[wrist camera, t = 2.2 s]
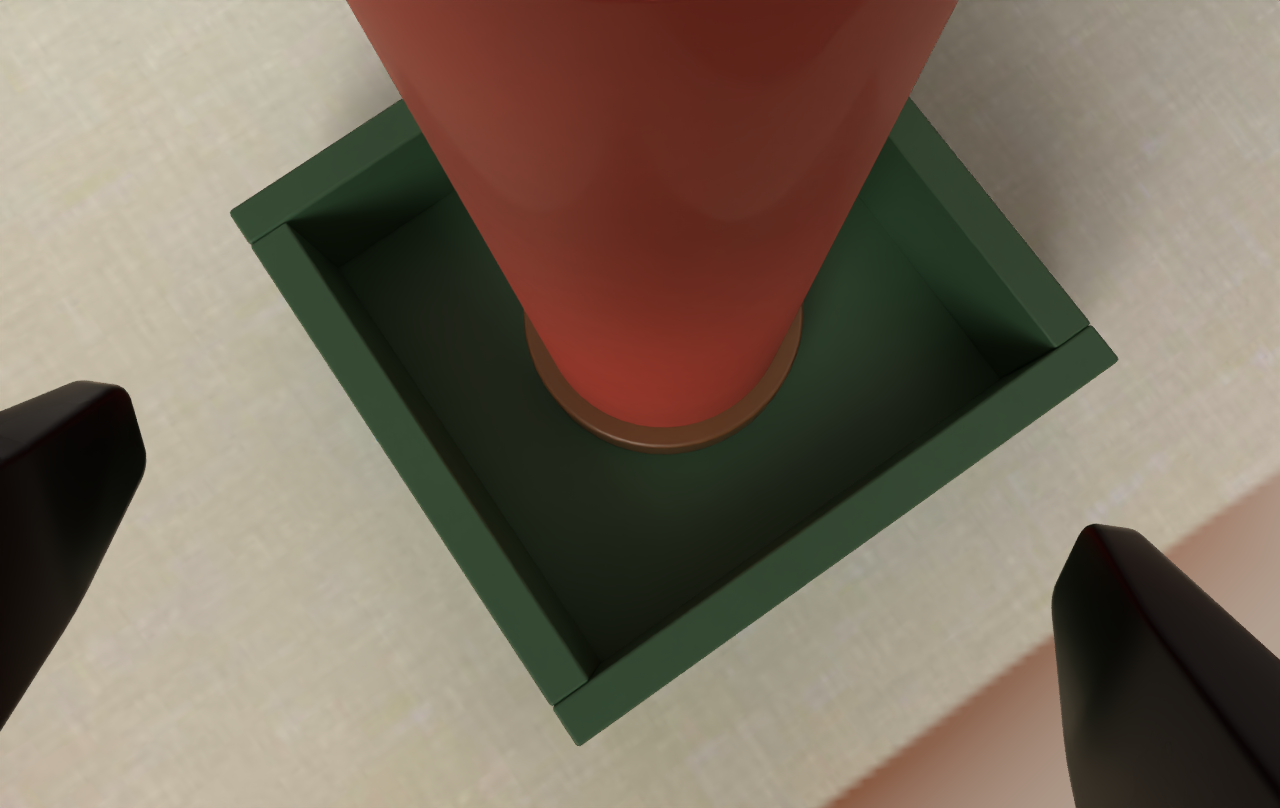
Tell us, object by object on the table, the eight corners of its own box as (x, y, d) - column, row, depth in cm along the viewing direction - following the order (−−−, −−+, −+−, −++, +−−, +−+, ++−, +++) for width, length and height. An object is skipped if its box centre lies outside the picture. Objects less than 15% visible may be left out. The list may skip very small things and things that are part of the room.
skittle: (820, 429, 20) (1362, -42, 4) (553, 476, 20) (140, 174, 4) (768, 176, 21) (1065, -968, 5) (512, 220, 21) (49, -788, 5)
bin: (1044, 394, 21) (1121, 359, 17) (594, 715, 20) (577, 748, 16) (725, -14, 22) (736, -122, 19) (298, 267, 22) (226, 210, 18)
